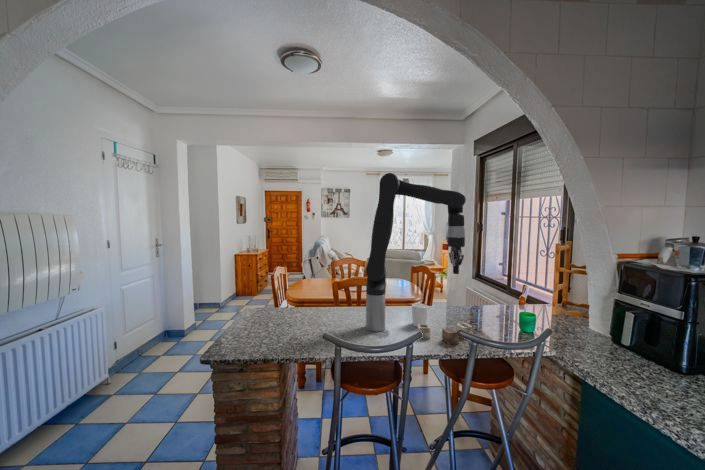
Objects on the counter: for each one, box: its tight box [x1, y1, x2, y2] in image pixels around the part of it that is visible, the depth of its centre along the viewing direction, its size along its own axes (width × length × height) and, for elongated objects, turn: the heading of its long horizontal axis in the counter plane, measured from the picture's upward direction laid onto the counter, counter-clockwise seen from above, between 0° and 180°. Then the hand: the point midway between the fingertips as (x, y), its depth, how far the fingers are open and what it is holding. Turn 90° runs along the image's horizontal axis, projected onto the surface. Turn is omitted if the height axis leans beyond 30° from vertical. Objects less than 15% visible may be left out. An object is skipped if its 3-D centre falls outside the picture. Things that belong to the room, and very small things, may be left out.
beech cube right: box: [455, 322, 474, 334], centre depth 128 cm, size 5×5×5 cm
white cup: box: [411, 302, 429, 327], centre depth 142 cm, size 8×8×10 cm
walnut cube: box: [441, 327, 460, 345], centre depth 121 cm, size 5×5×5 cm
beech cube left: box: [416, 323, 431, 340], centre depth 127 cm, size 5×5×5 cm
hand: (455, 273), depth 128 cm, fingers closed
